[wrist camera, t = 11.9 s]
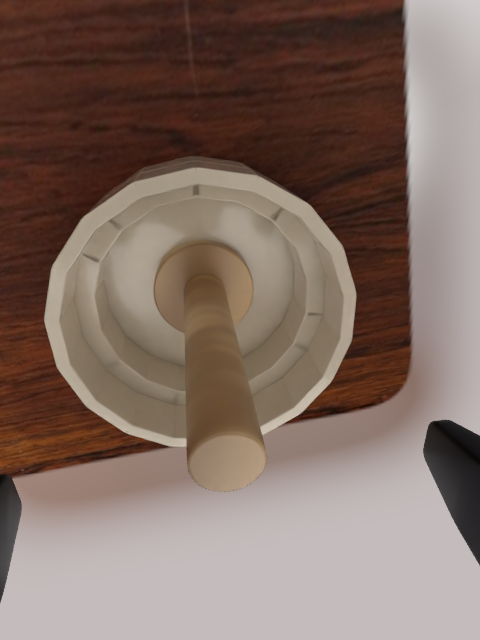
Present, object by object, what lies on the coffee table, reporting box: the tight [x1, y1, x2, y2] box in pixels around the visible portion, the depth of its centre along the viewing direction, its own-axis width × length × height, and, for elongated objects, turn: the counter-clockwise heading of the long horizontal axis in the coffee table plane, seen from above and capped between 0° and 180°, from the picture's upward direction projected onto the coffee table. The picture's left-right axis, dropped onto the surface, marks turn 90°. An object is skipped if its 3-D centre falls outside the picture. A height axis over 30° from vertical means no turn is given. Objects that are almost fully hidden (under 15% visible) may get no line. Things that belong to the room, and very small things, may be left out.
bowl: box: [44, 156, 356, 447], centre depth 17 cm, size 11×11×5 cm
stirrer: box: [153, 240, 267, 492], centre depth 14 cm, size 4×4×11 cm
